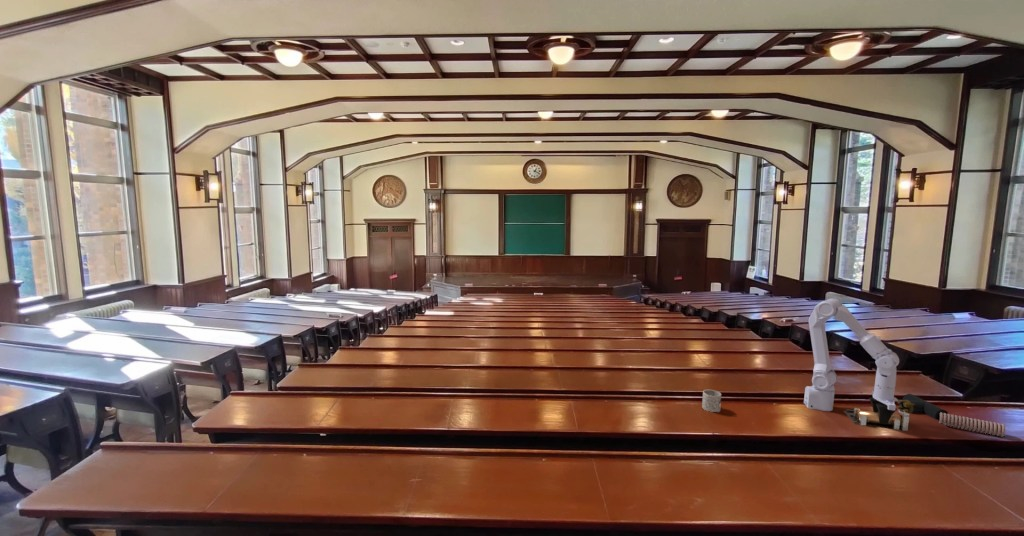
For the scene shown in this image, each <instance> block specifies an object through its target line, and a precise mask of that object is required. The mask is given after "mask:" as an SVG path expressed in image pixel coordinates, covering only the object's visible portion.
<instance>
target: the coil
mask: <svg viewBox="0 0 1024 536" xmlns="http://www.w3.org/2000/svg"><path fill="white" fill-rule="evenodd" d="M939 420H940V421H939ZM939 420H938V423H939V424H942V425H944V426H945V427H949V428H956V429H960V430H965V431H971V432H975V433H979V432H980V434H984V433H985V434H984V435H988V434H990V435H991V434H992V435H991V436H995V435H997V436H996V437H999V436H1001V437H1000V438H1004V437H1003V436H1005V437H1006V435H1005V433H1006V425H1005V424H1004V423H1000V422H995V421H994V422H992V421H988V420H984V419H982V420H981V419H977V418H972V417H970V418H969V417H967V416H962V415H956V414H955V415H954V414H950V413H948V414H946V413H944V414H943V413H942V412H940V415H939ZM942 421H943V422H942ZM986 433H987V434H986Z"/></svg>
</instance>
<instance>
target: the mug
mask: <svg viewBox="0 0 1024 536" xmlns="http://www.w3.org/2000/svg"><path fill="white" fill-rule="evenodd" d="M701 402H702V405H701V408H703V409H704V410H703V409H702V410H703V411H705V410H706V411H705V412H708V411H710V412H709V413H713V412H717V413H720V412H721V408H722V407H721V406H722V405H721V404H722V393H721V392H720V391H718V390H715V389H714V390H713V389H704V390H703V391H702V401H701Z"/></svg>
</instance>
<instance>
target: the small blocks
mask: <svg viewBox="0 0 1024 536" xmlns="http://www.w3.org/2000/svg"><path fill="white" fill-rule="evenodd" d="M853 410H854V416H853V417H854V418H857V411H858V410H861V409H860V408H859V407H858V408H857V407H854V409H853ZM866 419H867V416H866V415H861V417H860V425H859V426H866ZM899 426H900V420H899V419H894V421H893V429H892V430H897V431H900V430H899ZM866 427H867V426H866Z"/></svg>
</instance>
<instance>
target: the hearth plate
mask: <svg viewBox="0 0 1024 536" xmlns="http://www.w3.org/2000/svg"><path fill="white" fill-rule="evenodd" d="M843 413H845V415H846V416H847V417H848V418H849V419H850V420H851V422H853V424H854V425H857V426H861V425H860V422H859V421H858V420H857V418H854V417H853V416H854V409H853V410H852V409H847V408H846V409H845V410H843ZM866 427H871V428H872V427H873V428H881V429H889V430H894V429H893V426H892V425H884V424H875V423H867V422H866ZM898 431H904V430H901V427H899V430H898ZM908 431H909V430H907V431H906V432H908ZM904 432H905V431H904Z"/></svg>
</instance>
